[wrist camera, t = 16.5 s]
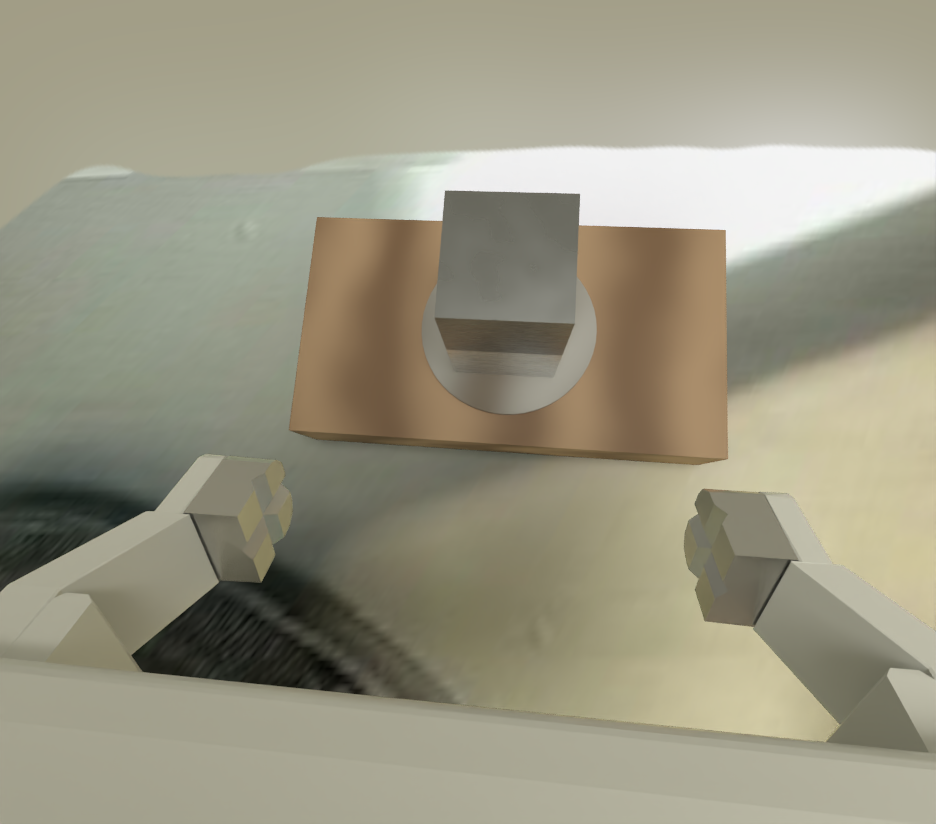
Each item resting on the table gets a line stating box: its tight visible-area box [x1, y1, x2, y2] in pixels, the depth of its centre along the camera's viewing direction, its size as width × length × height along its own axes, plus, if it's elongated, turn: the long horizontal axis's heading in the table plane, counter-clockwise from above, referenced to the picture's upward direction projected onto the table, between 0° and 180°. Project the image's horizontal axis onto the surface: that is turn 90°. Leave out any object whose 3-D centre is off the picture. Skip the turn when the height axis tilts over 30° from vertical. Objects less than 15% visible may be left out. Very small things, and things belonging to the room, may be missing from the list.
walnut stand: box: [289, 217, 728, 465], centre depth 29 cm, size 22×12×4 cm, turn 86°
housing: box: [434, 191, 580, 378], centre depth 23 cm, size 5×5×8 cm
